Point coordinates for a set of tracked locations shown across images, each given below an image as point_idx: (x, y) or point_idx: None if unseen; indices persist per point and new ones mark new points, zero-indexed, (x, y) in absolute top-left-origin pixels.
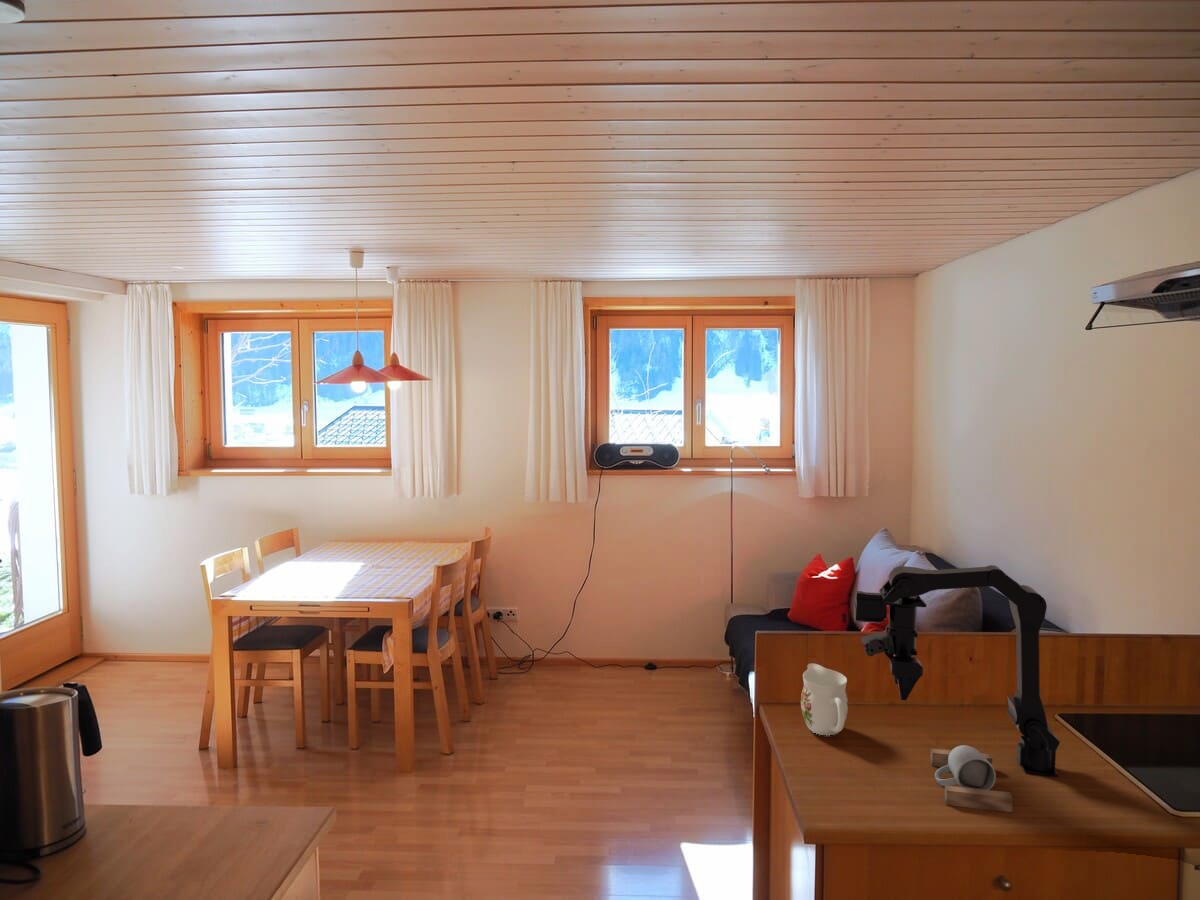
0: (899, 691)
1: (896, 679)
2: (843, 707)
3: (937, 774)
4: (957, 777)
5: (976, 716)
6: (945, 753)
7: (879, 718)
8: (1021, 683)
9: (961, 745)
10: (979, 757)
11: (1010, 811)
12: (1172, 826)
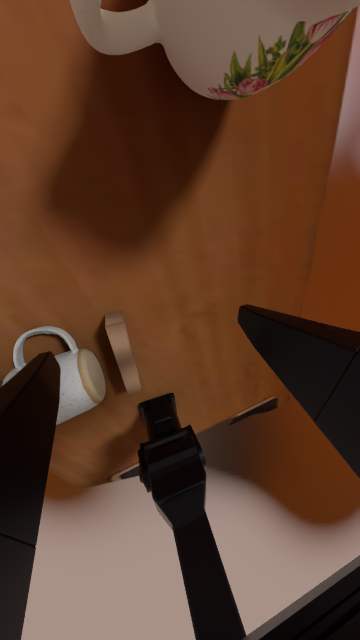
0: (15, 384)
1: (251, 318)
2: (202, 40)
3: (48, 332)
4: (6, 376)
5: None
6: (113, 345)
7: (272, 218)
8: (183, 563)
9: (86, 394)
10: None
11: None
12: (86, 482)
